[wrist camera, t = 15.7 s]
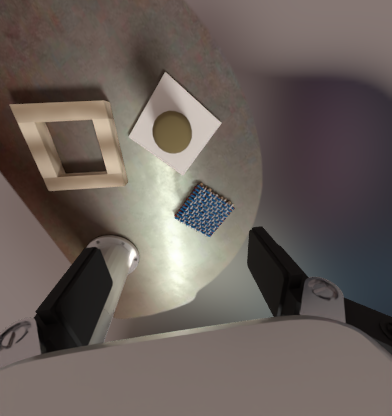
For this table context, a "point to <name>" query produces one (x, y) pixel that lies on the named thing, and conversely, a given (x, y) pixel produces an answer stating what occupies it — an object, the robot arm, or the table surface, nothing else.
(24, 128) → the wooden holder
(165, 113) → the cork
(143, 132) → the ceramic tile
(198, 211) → the woven mat
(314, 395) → the robot arm
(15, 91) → the table surface
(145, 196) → the table surface
